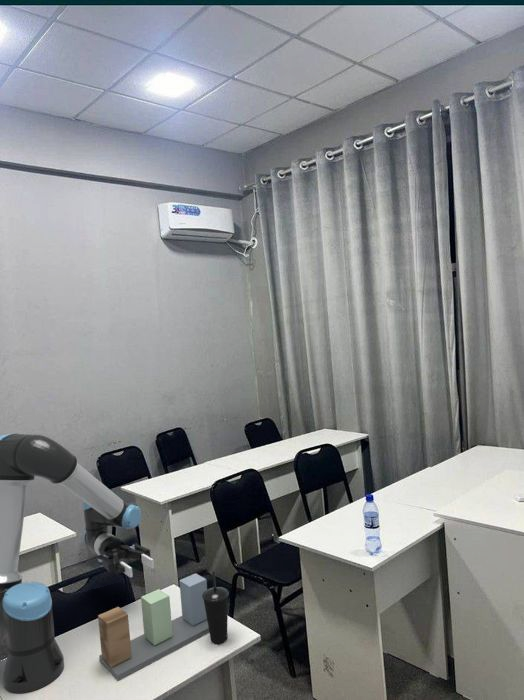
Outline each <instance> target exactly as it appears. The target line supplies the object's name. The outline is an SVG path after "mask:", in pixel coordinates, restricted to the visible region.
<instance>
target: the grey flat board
mask: <svg viewBox="0 0 524 700" xmlns="http://www.w3.org/2000/svg"><path fill="white" fill-rule="evenodd" d="M171 621H172V632H173V636H172V637H170V638H168V639H166V640H164V641H162V642H160V643H158V644H156V645H153V644H152V643H151V642H150V641H149V640H147V639H146V638H145V637H144V633H143V634H141V635H139V636H137V637H134V638H133V639H130V643H131V654H132V657H131V658H129V659H127V660H125V661H123V662H121V663H119V664H117V665H115V666H113V667H110V666H109V665H108V664H107V663H106V662H105V660H104V659H103V658H102V654H100V655H98V657H99V662H100V664H102V665H103V666H104V668H105V669H107V671H109V673H110V674H111V675H112V676H113V677H114V678H115V679H116V681H121V680H123V679H125V678H126V677H129V676H130V675H132V674H134V673H136V672H138V671H140V670H142V669H143V668H145V667H147V666H149V665H151V664H153V663H155V662H157V661H159V660H160V659H162V658H164V657H166V656H168V655H170V654H172V653H173V652H176V651H177V650H179V649H181V648H183V647H185V646H187V645H188V644H191V643H193V642H195V641H196V640H198V639H200V638H202V637H203V636H206V635H207V634H210V633H209V627H208V622H207V619H206V620H204V621H202V622H200V623H198V624H196V625H194V626H193V625H191V624H190V623H188V622H187V621H186V620H184V619H183V618H182V615H180V616H178V617H176V618H174V619H171Z"/></svg>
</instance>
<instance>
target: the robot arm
mask: <svg viewBox="0 0 524 700" xmlns="http://www.w3.org/2000/svg"><path fill="white" fill-rule="evenodd" d="M35 477H39V478H43V479H45V480H48V481H49V482H50V483H52V484H54V485H61V486H62V487H63V488H65V489H66V490H68V491H69V492H70V493H72V494H73V495H74V496H76V497H77V498H78V499H80V500H81V501H83V515H84V523H85V531H84V533H83V534H82V543H83V544H84V545H85V546H86V548H87V549H88V550H90V551H92V552H93V553H94V554H96V555H97V560H98V565H101V566H103V568H104V569H106V570H107V571H108V573H110V574H112V573H114V572H115V573H116V574H117V575H118V574H125V576H127V577H128V578H129V579H130V578H133V567H131V566H130V565H128V564H127V563H125V562H124V561H120V560H123V559H127V560H129V559H131V560H136V561H141V563H142V564H143V565H145V566H146V567H148V568H149V569H151V570H153V569H155V562H154V559H153V558H152V556H151V549H149V548H147V547H145V546H142V545H140V544H138V543H137V542H133V544H132V545H131V546H129V544H125V543H124V541H123V540H121V539H120V538H118V537H116V536H115V535H113V534H112V533H110V531H109V530H110V529H109V527H110V526H111V527H115V528H122V529H134V528H136V527H137V526H138V525H139V523H140V521H141V518H142V511H141V508H140V506H138V505H134V504H128V503H127V502H126V501H124V500H123V499H122V498H120V497H119V496H118V495H117V494H116V493H115V492H113V491H112V490H111V489H110V488H108V487H107V486H106V485H105V484H104V483H103V482H101V481H100V480H99V479H97V477H95V476H94V475H93V474H92V473H91V472H89V471H88V470H87V469H86V468H84V467H83V466H82V465H81V464H79V463H78V458H77V456H75V455H74V454H73V453H72V452H71V451H70V450H68V449H67V448H66V447H64V446H63V445H61V444H60V443H58V442H57V441H55V440H54V439H53V438H50V437H49V436H45V435H43V434H42V435H41V434H23V433H8V434H3V435H0V634H1V635H5V636H6V644H7V653H8V654H7V658H6V662H5V667H4V669H3V677H2V678H3V686H4V688H5V689H6V691H8V692H10V693H16V694H24V693H29V692H33V691H36V690H39V689H41V688H43V687H46V686H48V685H49V684H51V683H52V682H53V681H55V680H56V679H57V678H58V677H59V676H61V674H62V672H63V670H64V669H65V659H64V654H63V652H62V650H61V649H60V646H59V644H58V643H57V641H56V638H55V625H54V614H53V600H52V599H53V598H52V596H51V595H52V594H51V592H50V589H49V587H48V586H47V585H46V584H44V583H42V582H38V581H30V582H28V581H26V582H22V581H23V575H22V574H21V573H20V572H19V571H18V569H19V558H20V551H21V545H22V544H21V542H22V535H23V529H24V521H25V520H24V519H25V512H26V511H25V510H26V505H27V504H26V503H27V496H28V495H27V494H28V487H29V486H30V484H31V483H33V482H34V481H35Z"/></svg>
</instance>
